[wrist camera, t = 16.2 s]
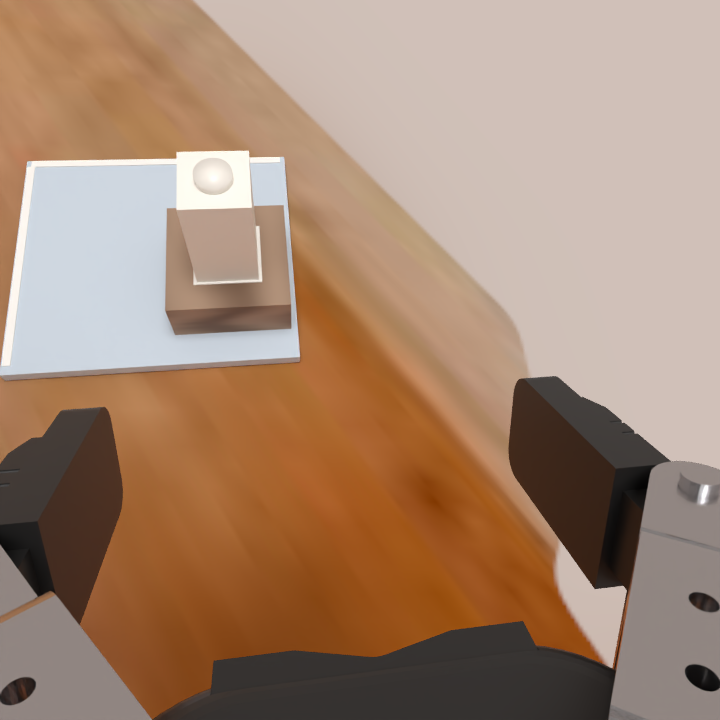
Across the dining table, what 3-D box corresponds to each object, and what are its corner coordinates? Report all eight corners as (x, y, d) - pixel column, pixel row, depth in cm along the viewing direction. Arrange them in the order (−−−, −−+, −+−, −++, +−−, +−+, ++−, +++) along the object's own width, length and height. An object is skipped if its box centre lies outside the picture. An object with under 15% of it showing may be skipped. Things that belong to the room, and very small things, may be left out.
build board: (5, 380, 45) (-29, 352, 40) (32, 169, 53) (6, 125, 48) (299, 362, 48) (300, 333, 43) (284, 164, 56) (283, 122, 51)
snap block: (197, 282, 44) (174, 203, 36) (196, 231, 46) (175, 145, 38) (259, 279, 45) (251, 201, 36) (256, 229, 46) (248, 144, 38)
